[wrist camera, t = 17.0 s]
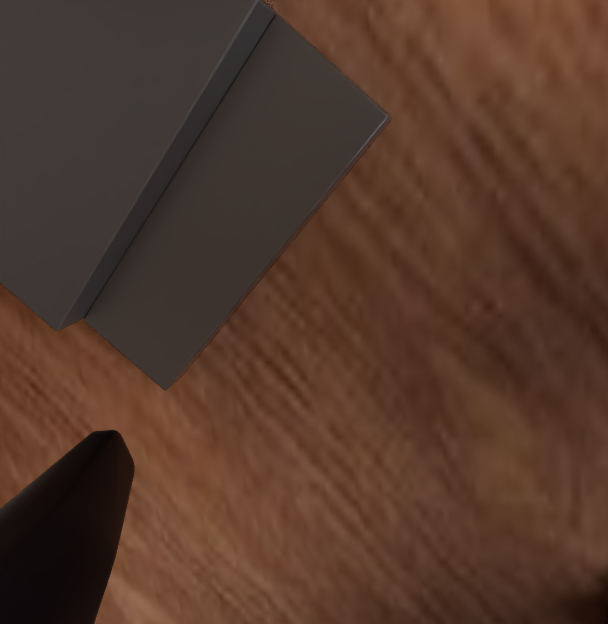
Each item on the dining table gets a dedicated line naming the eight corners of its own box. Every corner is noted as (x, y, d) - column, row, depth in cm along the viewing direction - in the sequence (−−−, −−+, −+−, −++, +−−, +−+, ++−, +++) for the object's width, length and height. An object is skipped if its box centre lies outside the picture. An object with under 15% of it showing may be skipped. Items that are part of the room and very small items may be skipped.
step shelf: (393, 118, 17) (385, 112, 14) (181, 376, 23) (145, 409, 20) (86, -160, 17) (12, -226, 14) (-46, 178, 23) (-117, 182, 20)
